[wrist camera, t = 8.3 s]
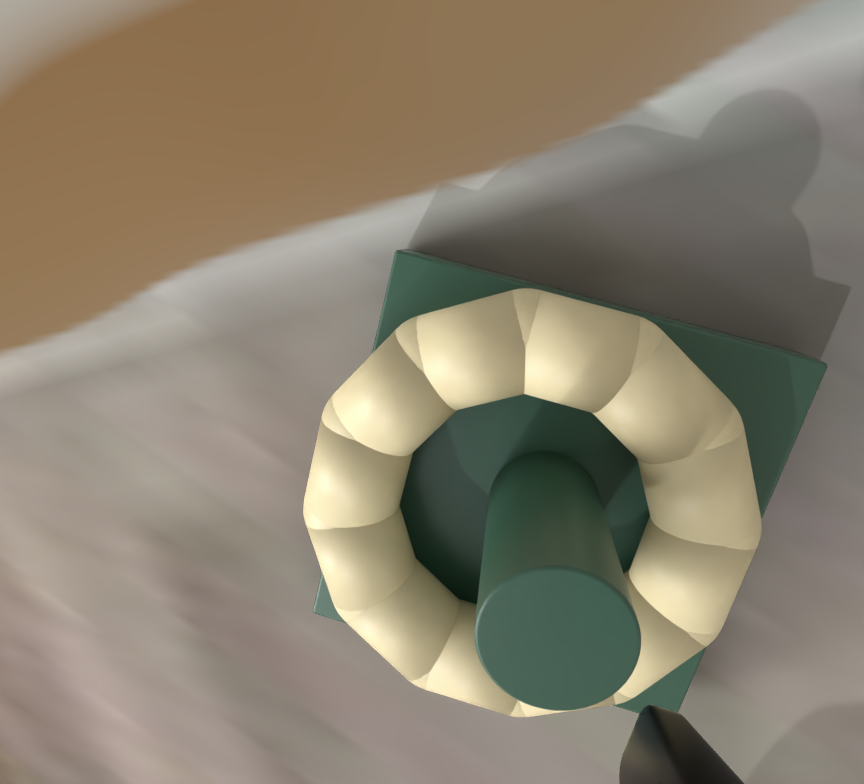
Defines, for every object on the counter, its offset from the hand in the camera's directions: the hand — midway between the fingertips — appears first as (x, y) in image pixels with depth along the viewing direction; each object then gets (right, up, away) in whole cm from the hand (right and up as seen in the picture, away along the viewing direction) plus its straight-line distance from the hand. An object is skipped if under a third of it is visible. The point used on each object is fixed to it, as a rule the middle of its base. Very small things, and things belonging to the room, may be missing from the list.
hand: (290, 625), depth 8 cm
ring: (+4, 0, +5) cm, 6 cm away
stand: (+4, +1, +7) cm, 8 cm away
